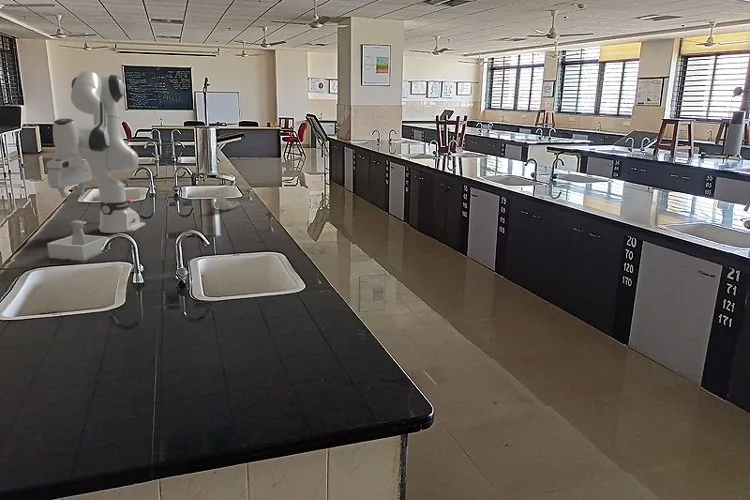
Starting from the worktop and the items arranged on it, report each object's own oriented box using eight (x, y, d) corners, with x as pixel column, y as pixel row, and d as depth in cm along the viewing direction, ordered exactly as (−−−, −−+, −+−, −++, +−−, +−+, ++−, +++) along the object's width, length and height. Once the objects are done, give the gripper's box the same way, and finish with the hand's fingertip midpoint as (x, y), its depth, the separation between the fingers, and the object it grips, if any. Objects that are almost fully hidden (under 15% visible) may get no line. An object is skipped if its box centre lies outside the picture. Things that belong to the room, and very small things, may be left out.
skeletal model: (241, 205, 343) (235, 182, 320) (240, 219, 338) (233, 196, 316) (214, 205, 341) (206, 181, 319) (212, 218, 337) (203, 195, 315)
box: (77, 247, 247) (75, 234, 246) (110, 250, 244) (108, 236, 242) (49, 258, 232) (47, 243, 231) (83, 261, 229) (82, 246, 227)
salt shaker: (73, 250, 240) (69, 219, 236) (88, 249, 242) (85, 219, 238) (71, 254, 234) (67, 223, 231) (87, 253, 236) (83, 222, 233)
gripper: (80, 157, 238) (84, 191, 242) (42, 164, 219) (47, 200, 223) (93, 158, 237) (97, 191, 241) (57, 164, 218) (61, 201, 222)
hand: (73, 195), depth 232 cm, fingers open, 8 cm apart
